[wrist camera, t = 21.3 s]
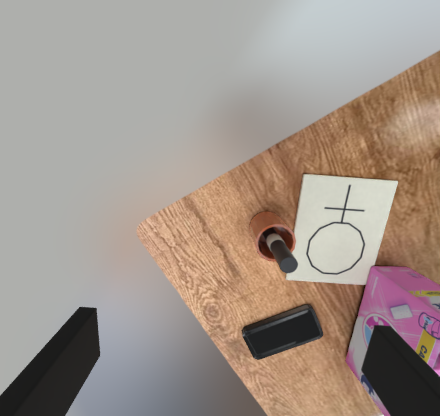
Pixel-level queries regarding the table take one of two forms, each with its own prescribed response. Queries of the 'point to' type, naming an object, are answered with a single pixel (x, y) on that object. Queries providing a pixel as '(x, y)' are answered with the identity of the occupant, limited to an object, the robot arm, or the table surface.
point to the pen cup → (265, 222)
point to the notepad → (339, 227)
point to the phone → (282, 332)
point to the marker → (280, 251)
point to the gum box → (397, 317)
